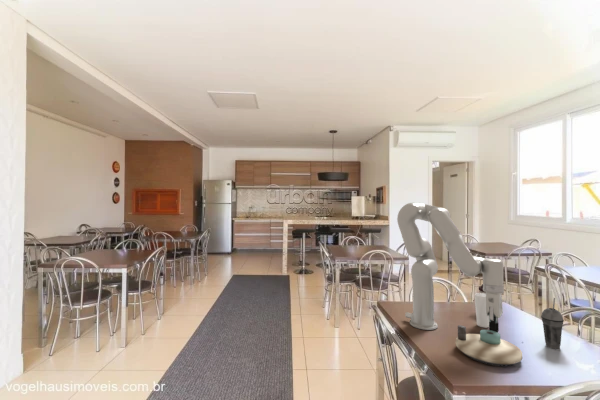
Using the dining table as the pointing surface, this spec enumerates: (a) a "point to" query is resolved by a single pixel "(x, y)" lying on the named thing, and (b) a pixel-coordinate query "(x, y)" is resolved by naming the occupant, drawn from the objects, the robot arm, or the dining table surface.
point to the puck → (490, 336)
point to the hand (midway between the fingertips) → (493, 331)
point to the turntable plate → (487, 348)
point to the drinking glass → (481, 310)
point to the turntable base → (488, 362)
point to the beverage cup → (552, 327)
